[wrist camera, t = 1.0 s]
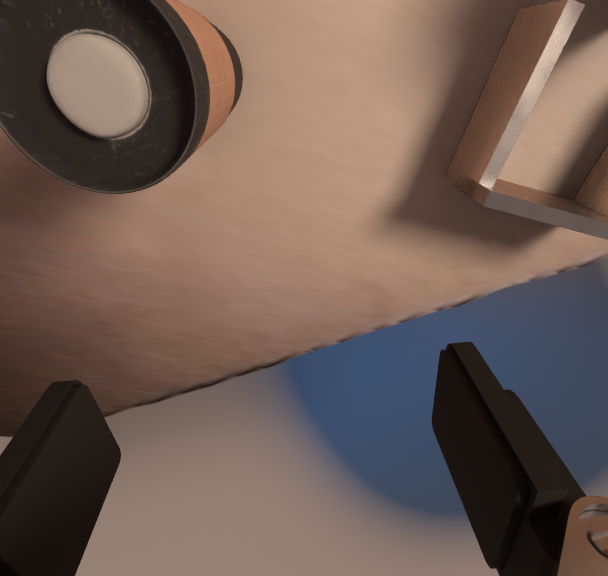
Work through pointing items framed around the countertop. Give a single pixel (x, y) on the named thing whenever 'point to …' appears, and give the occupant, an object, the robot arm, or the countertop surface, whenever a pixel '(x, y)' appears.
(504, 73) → the bracket
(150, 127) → the travel mug
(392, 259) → the countertop surface
